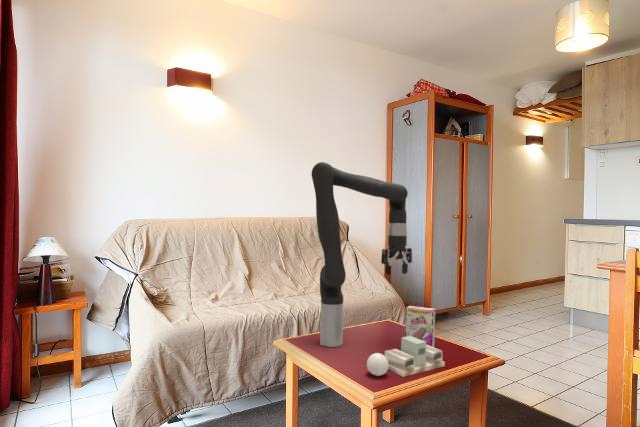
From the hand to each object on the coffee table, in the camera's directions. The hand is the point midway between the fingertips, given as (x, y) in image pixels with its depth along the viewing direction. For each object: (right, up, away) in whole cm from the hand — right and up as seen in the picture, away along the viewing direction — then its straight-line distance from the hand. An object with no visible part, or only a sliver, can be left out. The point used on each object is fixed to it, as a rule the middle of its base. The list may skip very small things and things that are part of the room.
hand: (396, 274), depth 168 cm
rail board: (+3, -30, -19) cm, 36 cm away
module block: (+3, -29, -19) cm, 35 cm away
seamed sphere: (-13, -30, -28) cm, 43 cm away
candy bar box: (+10, -31, +1) cm, 32 cm away
